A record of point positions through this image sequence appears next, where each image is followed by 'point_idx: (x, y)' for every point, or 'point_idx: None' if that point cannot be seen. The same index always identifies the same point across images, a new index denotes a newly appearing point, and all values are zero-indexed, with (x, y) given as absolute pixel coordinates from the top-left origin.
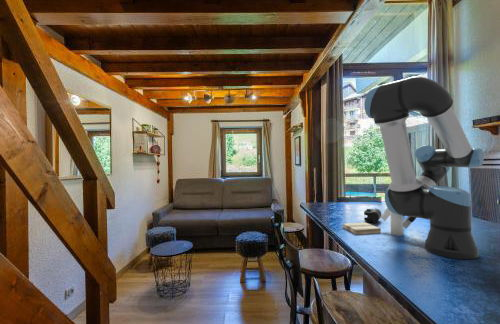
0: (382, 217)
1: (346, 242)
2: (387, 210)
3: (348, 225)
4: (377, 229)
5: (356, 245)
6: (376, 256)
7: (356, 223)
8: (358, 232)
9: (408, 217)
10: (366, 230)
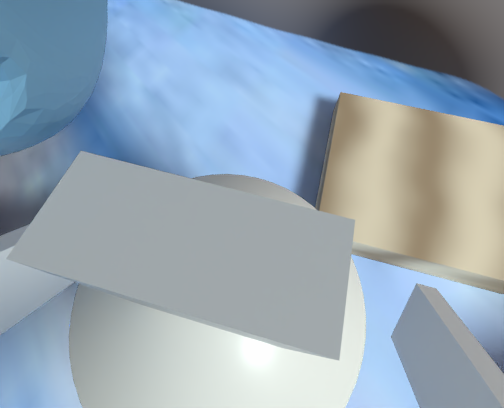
0: (415, 300)
1: (258, 25)
2: (489, 397)
3: (449, 121)
4: (318, 210)
5: (214, 29)
6: (107, 12)
7: (497, 197)
8: (334, 112)
9: (2, 237)
10: (329, 144)
